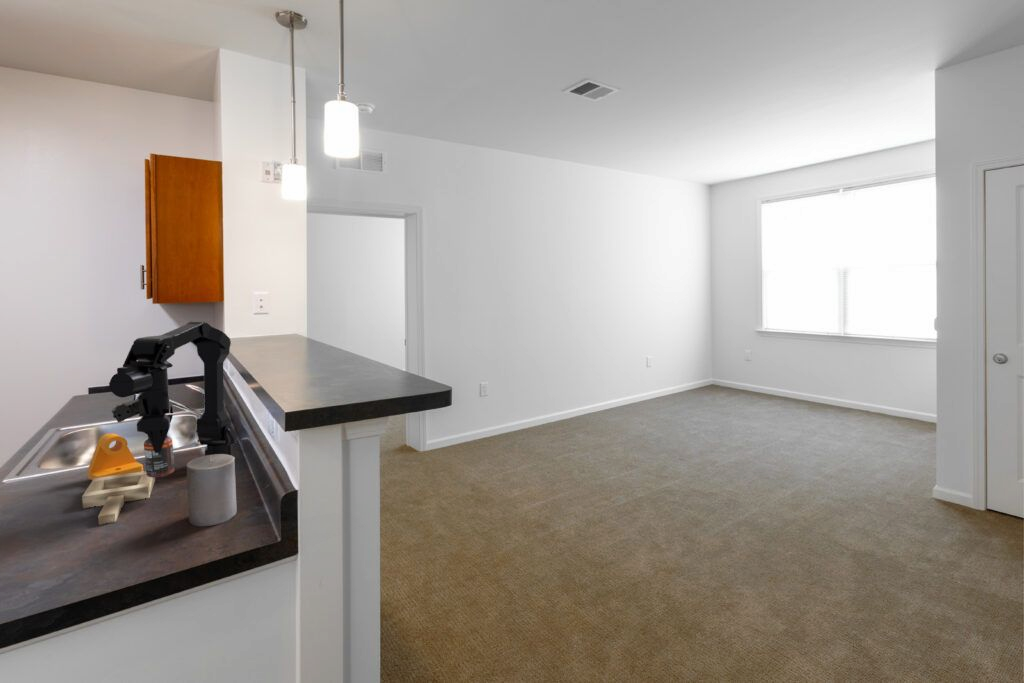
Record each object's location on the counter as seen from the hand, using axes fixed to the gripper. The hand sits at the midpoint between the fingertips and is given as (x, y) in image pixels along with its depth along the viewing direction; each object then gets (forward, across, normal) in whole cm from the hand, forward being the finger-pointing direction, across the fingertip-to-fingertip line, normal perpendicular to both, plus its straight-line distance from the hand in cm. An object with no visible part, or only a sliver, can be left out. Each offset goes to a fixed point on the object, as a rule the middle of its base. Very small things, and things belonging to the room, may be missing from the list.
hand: (158, 448), depth 127 cm
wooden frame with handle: (+13, -2, -9) cm, 16 cm away
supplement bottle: (+7, 0, 0) cm, 7 cm away
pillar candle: (+13, +19, +11) cm, 25 cm away
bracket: (+13, -22, -12) cm, 28 cm away
